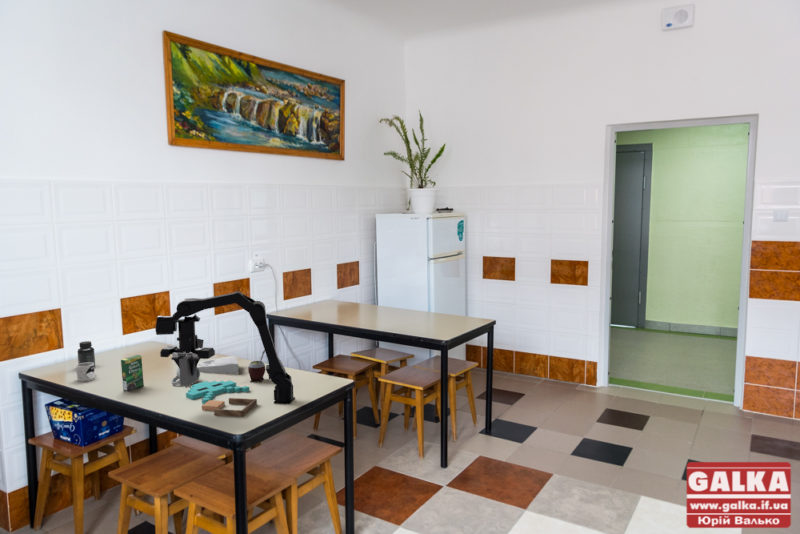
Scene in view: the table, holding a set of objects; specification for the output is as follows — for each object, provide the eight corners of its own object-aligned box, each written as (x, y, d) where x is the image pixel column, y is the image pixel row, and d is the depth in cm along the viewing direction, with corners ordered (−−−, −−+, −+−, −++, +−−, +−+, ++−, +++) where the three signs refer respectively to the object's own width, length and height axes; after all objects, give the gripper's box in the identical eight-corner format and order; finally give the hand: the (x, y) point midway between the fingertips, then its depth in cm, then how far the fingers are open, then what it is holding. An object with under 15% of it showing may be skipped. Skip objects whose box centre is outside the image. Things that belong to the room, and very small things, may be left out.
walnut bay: (256, 404, 222) (256, 399, 222) (242, 416, 210) (242, 411, 209) (229, 402, 224) (229, 397, 223) (214, 415, 211) (214, 409, 211)
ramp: (183, 370, 268) (183, 358, 267) (211, 362, 281) (210, 351, 280) (226, 380, 253) (225, 367, 252) (253, 370, 266) (252, 359, 266)
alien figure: (249, 392, 237) (220, 382, 250) (249, 387, 237) (220, 377, 250) (205, 406, 222) (177, 394, 235) (205, 400, 222) (176, 389, 234)
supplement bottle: (76, 368, 271) (74, 342, 269) (91, 364, 276) (90, 339, 274) (82, 371, 266) (80, 345, 265) (98, 367, 271) (96, 342, 270)
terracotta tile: (224, 406, 221) (224, 401, 221) (217, 411, 216) (217, 406, 215) (209, 405, 222) (209, 400, 222) (202, 411, 217) (201, 405, 216)
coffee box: (126, 391, 237) (124, 360, 236) (122, 390, 239) (120, 359, 237) (144, 386, 244) (142, 355, 243) (139, 385, 246) (137, 354, 244)
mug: (89, 381, 251) (88, 366, 250) (74, 381, 251) (73, 366, 250) (101, 374, 261) (100, 360, 260) (86, 374, 260) (85, 360, 260)
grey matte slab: (197, 380, 220) (196, 354, 219) (188, 386, 213) (186, 359, 212) (189, 380, 220) (188, 354, 219) (180, 386, 214) (179, 359, 212)
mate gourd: (245, 380, 251) (244, 346, 249) (261, 376, 256) (260, 343, 254) (255, 384, 245) (253, 349, 244) (271, 380, 251) (270, 346, 249)
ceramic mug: (192, 377, 255) (191, 360, 254) (200, 381, 249) (199, 364, 248) (168, 383, 248) (166, 366, 247) (176, 388, 242) (175, 370, 241)
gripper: (220, 329, 221) (222, 370, 223) (174, 328, 224) (176, 367, 226) (207, 336, 210) (208, 378, 212) (158, 334, 213) (160, 376, 215)
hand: (188, 375), depth 217 cm, fingers closed on grey matte slab, 3 cm apart
